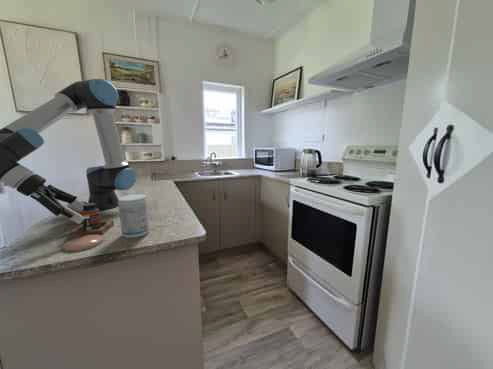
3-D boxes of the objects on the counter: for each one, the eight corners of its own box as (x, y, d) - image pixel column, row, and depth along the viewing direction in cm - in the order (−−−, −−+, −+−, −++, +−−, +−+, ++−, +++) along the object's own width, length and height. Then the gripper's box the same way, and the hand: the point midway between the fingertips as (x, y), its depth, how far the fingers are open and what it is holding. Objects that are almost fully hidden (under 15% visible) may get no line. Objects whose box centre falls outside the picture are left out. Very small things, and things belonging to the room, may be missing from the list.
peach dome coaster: (76, 238, 77) (76, 236, 77) (109, 235, 79) (108, 233, 79) (55, 253, 66) (55, 250, 66) (94, 249, 68) (93, 246, 68)
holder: (85, 227, 88) (84, 222, 88) (113, 225, 90) (113, 220, 90) (68, 238, 77) (68, 233, 77) (101, 235, 79) (100, 230, 79)
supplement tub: (125, 230, 84) (121, 195, 81) (151, 227, 87) (147, 193, 84) (119, 240, 75) (114, 201, 72) (147, 237, 78) (143, 198, 75)
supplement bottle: (92, 234, 80) (88, 206, 78) (79, 233, 81) (75, 205, 79) (105, 228, 86) (101, 202, 84) (93, 227, 87) (89, 201, 85)
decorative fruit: (96, 216, 101) (93, 196, 99) (88, 222, 93) (85, 201, 91) (73, 218, 99) (70, 198, 97) (63, 224, 91) (59, 202, 89)
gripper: (31, 184, 81) (84, 214, 91) (-5, 197, 60) (70, 235, 70) (46, 169, 83) (97, 201, 93) (17, 177, 61) (87, 217, 71)
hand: (85, 215), depth 81 cm, fingers open, 13 cm apart
